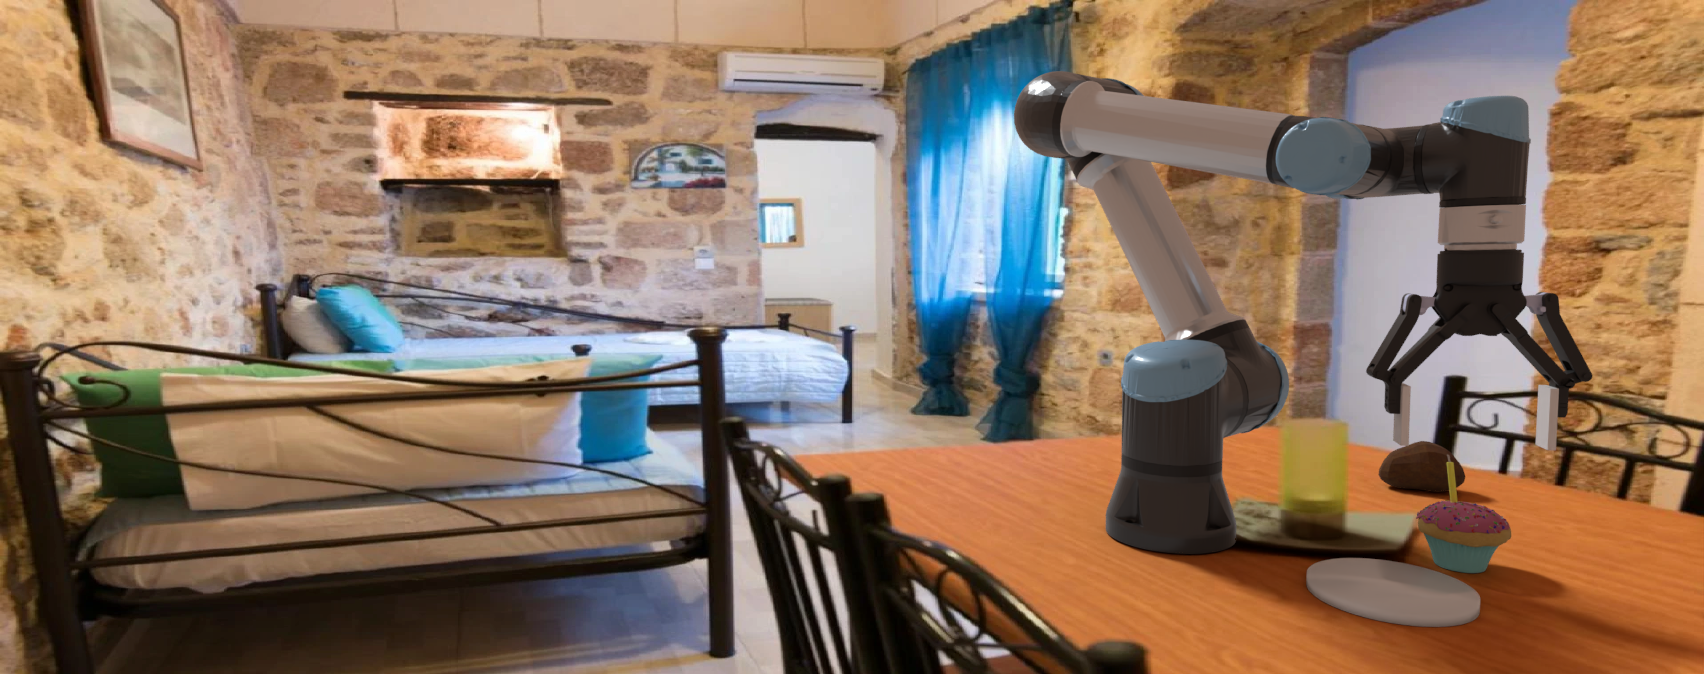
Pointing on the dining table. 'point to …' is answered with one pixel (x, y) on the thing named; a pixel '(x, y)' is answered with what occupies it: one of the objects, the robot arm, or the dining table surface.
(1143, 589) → the dining table surface
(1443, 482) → the potato
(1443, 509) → the cupcake
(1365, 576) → the plate
